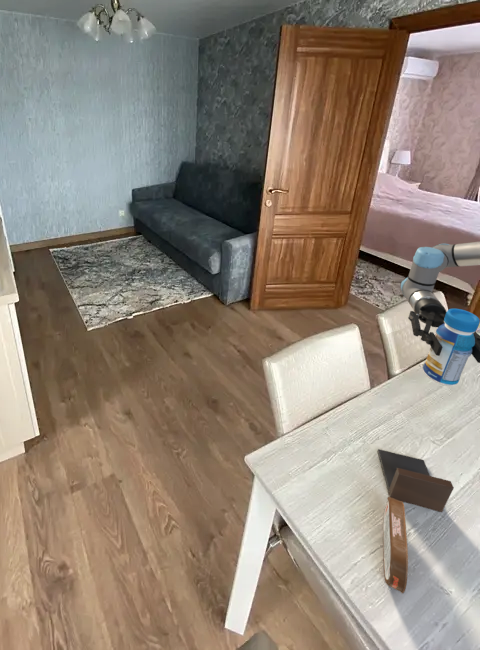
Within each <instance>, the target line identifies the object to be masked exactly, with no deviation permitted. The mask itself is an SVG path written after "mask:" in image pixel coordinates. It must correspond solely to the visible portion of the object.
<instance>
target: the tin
mask: <svg viewBox="0 0 480 650" xmlns="http://www.w3.org/2000/svg"><path fill="white" fill-rule="evenodd" d="M404 503H405V502H403V501H399V500H396V499H394V498H391V497H389V496H387V497H386V504H385V506H384V509H383V517H382V559H383V562H382V563H383V577H384V582H385V584H386V585H387V586H389V587H390V588H392V589H394V590H396V591H398V592H400V593H401V594H404V593H405V592H406V588H407V583H408V576H409V575H408V573H409V548H408V536H407V535H408V534H407V524H406V523H407V522H406V509H405V508H406V507H405V504H404Z"/></svg>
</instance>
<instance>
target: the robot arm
mask: <svg viewBox="0 0 480 650" xmlns="http://www.w3.org/2000/svg"><path fill="white" fill-rule="evenodd" d="M470 266H480V241H473V242H464V243H463V242H461V243H456V244H449V243H440V244H435V245H434V246H432V247H430V246H420V247H418V248H417V249H416V251H415V253H414V255H413V258H412V263H411V265H410V270H409V273H408V276H407V277H406V278H404V279H403V280H402V281H401V283H400V290H401V293H402V295H403V297H404V298H405V299H406V301H407V302H408V303H409V305H410V307H411V309H412V310H410V311H409V313H408V314H409V315H408V317H407V318H408V320H409V322H410V323H411V329H412V335H413V336H415V337H419V336H420V341H422V342H425V343H426V344H427V345H429V346H430V348H432V349H433V351H434V353H435V354H436V355H437V356H440V353H441V350H442V348H443V347H442V346H441V344H440V342H439V341H438V339H437V338H436V336H435V335H436V334H435V333H434V332H433V331H431V327H432V328H438V327H439V326H441V325H442V324H444V318H445V315H446V312H447V309H446V307H445V306H444V305H443V304H442V302H441V301H440V300H439V298H438V297H437V296H436V295H435V294H434V291H433V290H434V288H435V285H436V282H437V279H438V276H439V274H440V272H442V271H443V270H444V269H446V268H458V267H470ZM420 322H422V323H423V324H425V326H424V328H423V329H422V327H421V323H420ZM473 334H474V337H475V345H474V346H473V347H472V354H471V356H472V357H473V358H474V360H475V361H476V362H477V363H478V364H480V334H479V333H478V332H477V331H475V332H474V333H473Z"/></svg>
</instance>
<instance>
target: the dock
mask: <svg viewBox="0 0 480 650" xmlns="http://www.w3.org/2000/svg"><path fill="white" fill-rule="evenodd" d="M376 453H377V456H378V460H379V463H380V467H381V471H382V475H383V478H384V482H385V486H386V490H387V493H388V497H391V498H394V499H396V500H399V501H403V503H406V504H409V505H412V506H413V505H414V506H417V507H421V508H424V509H427V510H430V511H431V510H432V511H435V512H439V513H443V511H444V509H445V508H446V505H447V503H448V501H449V498H450V496H451V495H452V493H453V491H454V486H453V483H452V481H451V480H447V479H444V478H440V477H436V476H432V475H430V472H429V470H428V468H427V464H426V462H425V460H424V459H421V458H418V457H412V456H409V455H405V454H400V453H396V452H392V451H387V450H383V449H379V448H378V449H377V451H376Z"/></svg>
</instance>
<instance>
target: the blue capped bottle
mask: <svg viewBox="0 0 480 650" xmlns="http://www.w3.org/2000/svg"><path fill="white" fill-rule="evenodd" d="M479 326H480V318H479V317H478V316H477V315H476V314H474V313H473V312H470V311H468V310H465V309H461V308H449V309H447V310H446V315H445V318H444V324H442V325H441V326H439V327H436V330H435V334H434V335H435V336H436V338H437V339H438V341H439V342H440V344H441V346H442V347H443V348H442V350H441V353H440V356H437V355H436V354H435V353H434V351H433V349H432V348H431V347H430V348H429V351H428V354H427V356H426V359H425V361H424V364H423V366H422V371H423V373H424V374H425V376H426V377H428V378H429V379H430V380H431V381H432V382H435V383H437V384H439V385H443V386H447V387H452V386H456V385H458V384H459V382H460V379H461V376H462V374H463V371H464V368H465V366H466V364H467V361H468V359H469V358H470V357H471V356H472V347H473V346H474V345H475V337H474V334H473V333H474V332H477V330H478V327H479Z"/></svg>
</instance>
